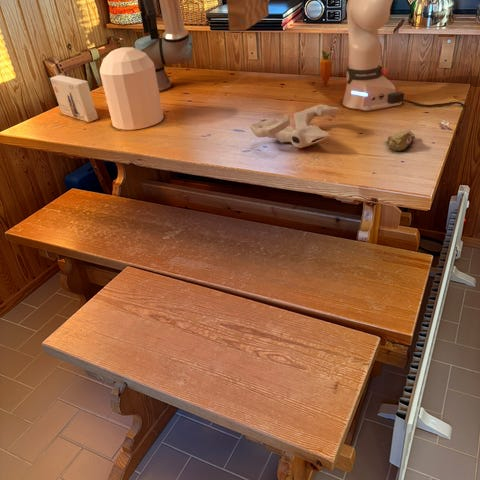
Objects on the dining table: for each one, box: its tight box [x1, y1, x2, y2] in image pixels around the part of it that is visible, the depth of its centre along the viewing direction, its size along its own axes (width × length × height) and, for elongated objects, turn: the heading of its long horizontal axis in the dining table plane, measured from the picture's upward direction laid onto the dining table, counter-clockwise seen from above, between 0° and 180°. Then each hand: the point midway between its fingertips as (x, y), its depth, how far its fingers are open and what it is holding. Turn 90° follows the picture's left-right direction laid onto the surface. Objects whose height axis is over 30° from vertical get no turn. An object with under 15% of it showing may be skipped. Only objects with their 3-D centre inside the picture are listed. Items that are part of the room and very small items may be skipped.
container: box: [99, 46, 164, 131], centre depth 180 cm, size 21×21×28 cm
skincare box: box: [49, 74, 99, 123], centre depth 193 cm, size 21×5×16 cm, turn 49°
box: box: [226, 0, 270, 31], centre depth 171 cm, size 27×6×11 cm, turn 159°
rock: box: [387, 129, 416, 152], centre depth 146 cm, size 11×6×10 cm
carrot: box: [319, 49, 333, 86], centre depth 201 cm, size 5×5×15 cm
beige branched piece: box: [250, 104, 341, 149], centre depth 155 cm, size 28×26×12 cm
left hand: (151, 35), depth 158 cm, fingers open, 13 cm apart
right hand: (257, 1), depth 179 cm, fingers closed on box, 6 cm apart
